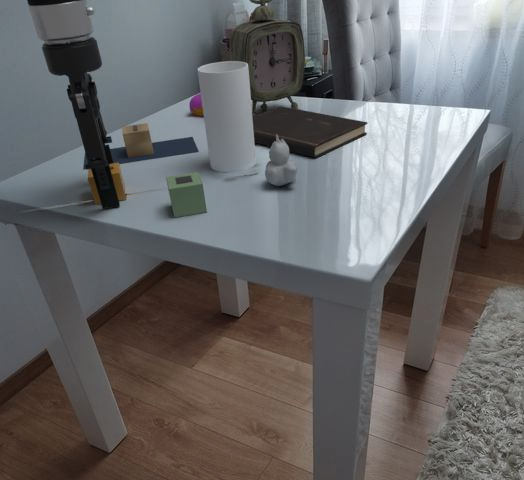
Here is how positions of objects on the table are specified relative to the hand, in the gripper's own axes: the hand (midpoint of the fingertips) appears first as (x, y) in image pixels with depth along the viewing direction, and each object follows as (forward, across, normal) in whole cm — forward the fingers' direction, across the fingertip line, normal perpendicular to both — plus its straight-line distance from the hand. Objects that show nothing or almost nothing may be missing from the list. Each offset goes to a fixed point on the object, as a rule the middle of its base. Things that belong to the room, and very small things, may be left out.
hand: (111, 194), depth 85 cm
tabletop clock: (0, +35, -36) cm, 50 cm away
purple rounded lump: (0, +41, -24) cm, 47 cm away
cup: (0, +5, -22) cm, 22 cm away
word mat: (0, +19, -6) cm, 20 cm away
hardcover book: (0, +16, -37) cm, 40 cm away
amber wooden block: (0, 0, 0) cm, 0 cm away
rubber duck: (0, -7, -28) cm, 29 cm away
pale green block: (0, -10, -12) cm, 16 cm away
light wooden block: (0, +19, -6) cm, 20 cm away
